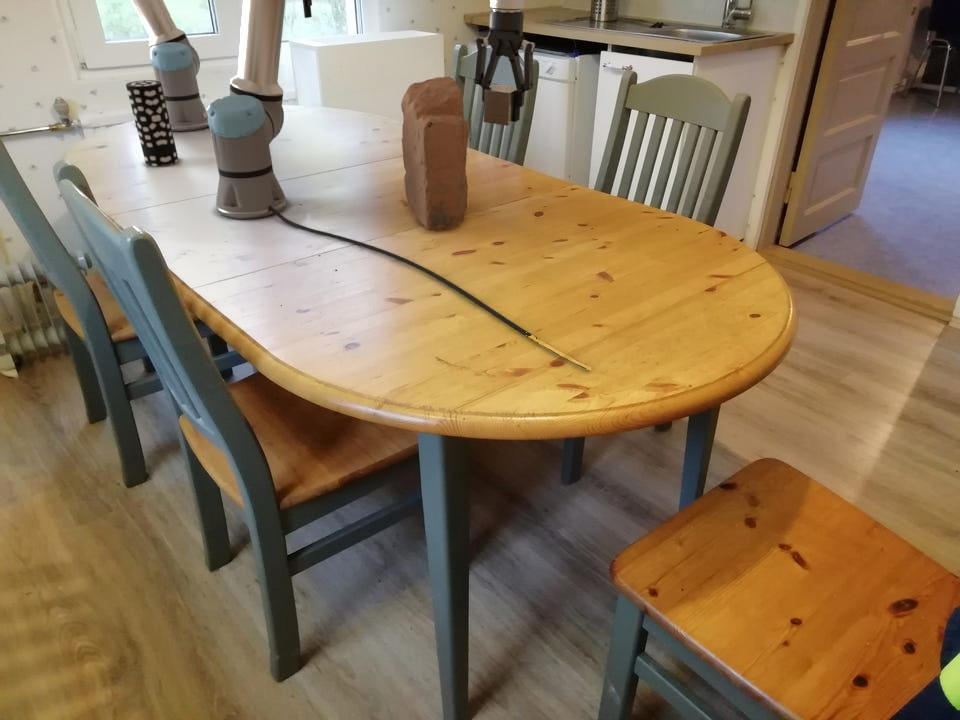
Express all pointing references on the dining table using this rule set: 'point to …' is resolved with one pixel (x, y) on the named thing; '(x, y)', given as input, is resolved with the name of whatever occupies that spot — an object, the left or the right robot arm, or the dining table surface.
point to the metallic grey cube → (499, 104)
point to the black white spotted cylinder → (152, 122)
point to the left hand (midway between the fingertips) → (291, 16)
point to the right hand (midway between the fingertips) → (502, 118)
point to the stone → (435, 152)
